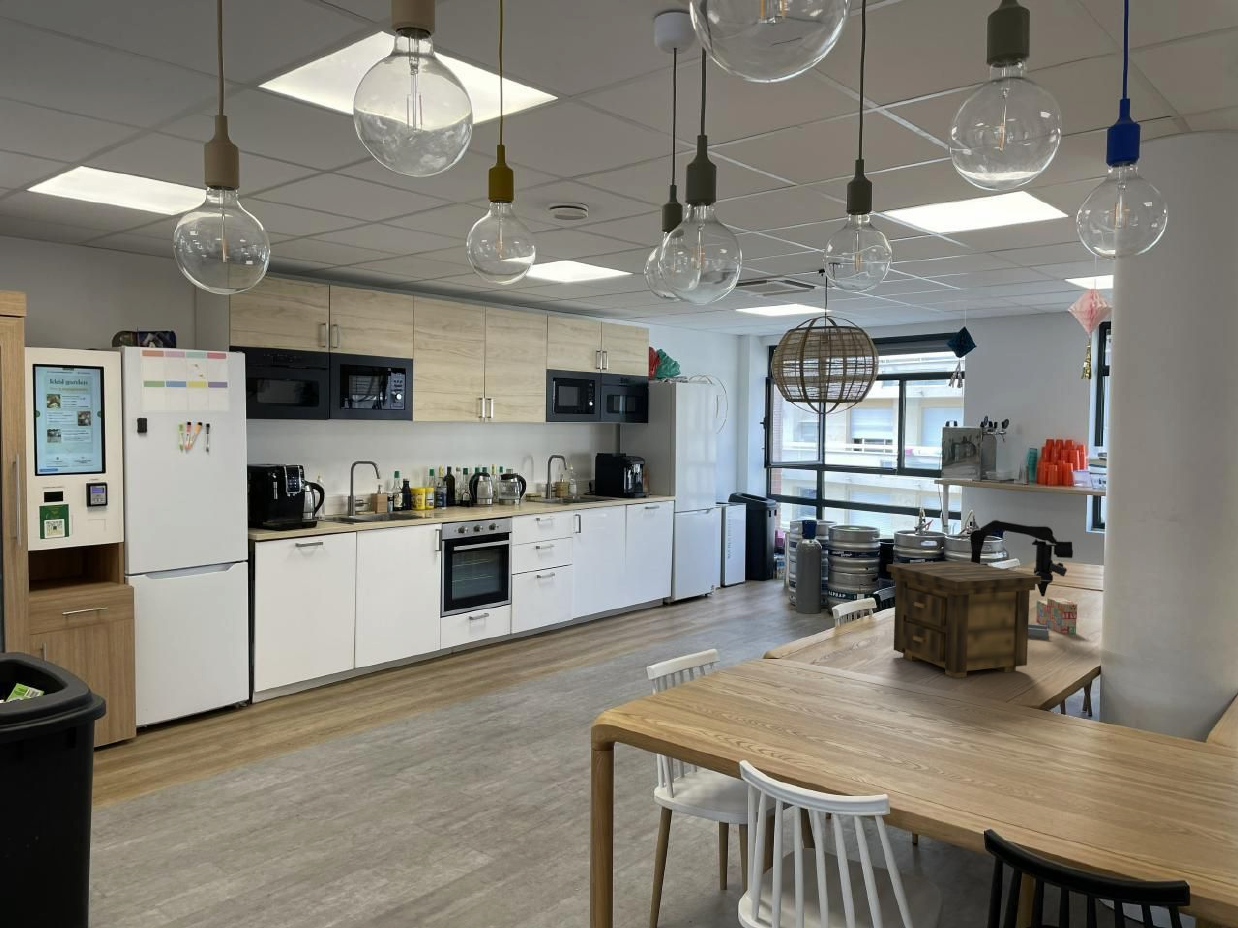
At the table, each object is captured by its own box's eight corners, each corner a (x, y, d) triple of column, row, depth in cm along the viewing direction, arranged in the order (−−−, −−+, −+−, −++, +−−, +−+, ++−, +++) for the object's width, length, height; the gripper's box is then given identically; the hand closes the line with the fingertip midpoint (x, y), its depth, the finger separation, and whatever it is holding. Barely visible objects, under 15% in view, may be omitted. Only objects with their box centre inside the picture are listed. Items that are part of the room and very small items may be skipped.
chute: (992, 633, 340) (992, 624, 340) (992, 628, 348) (992, 620, 348) (1048, 639, 332) (1048, 630, 332) (1046, 634, 340) (1047, 625, 340)
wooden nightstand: (1037, 673, 284) (1041, 576, 283) (954, 683, 272) (957, 581, 271) (961, 647, 317) (964, 560, 316) (883, 654, 305) (886, 564, 303)
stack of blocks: (1035, 621, 364) (1036, 593, 363) (1050, 621, 364) (1051, 593, 363) (1060, 633, 342) (1062, 603, 342) (1076, 634, 342) (1077, 603, 342)
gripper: (1067, 561, 335) (1066, 600, 335) (1064, 555, 352) (1062, 592, 352) (1036, 558, 339) (1034, 597, 340) (1034, 552, 356) (1033, 589, 357)
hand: (1042, 594), depth 347 cm, fingers open, 9 cm apart
